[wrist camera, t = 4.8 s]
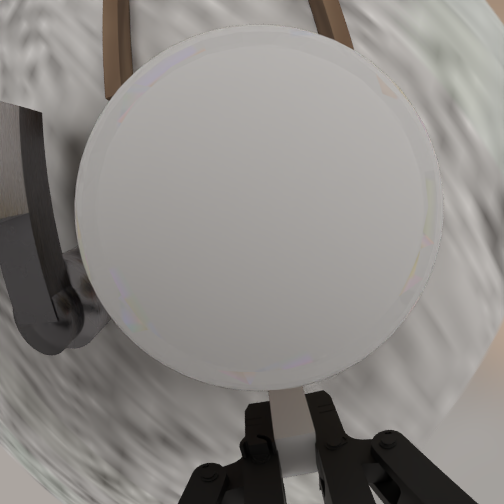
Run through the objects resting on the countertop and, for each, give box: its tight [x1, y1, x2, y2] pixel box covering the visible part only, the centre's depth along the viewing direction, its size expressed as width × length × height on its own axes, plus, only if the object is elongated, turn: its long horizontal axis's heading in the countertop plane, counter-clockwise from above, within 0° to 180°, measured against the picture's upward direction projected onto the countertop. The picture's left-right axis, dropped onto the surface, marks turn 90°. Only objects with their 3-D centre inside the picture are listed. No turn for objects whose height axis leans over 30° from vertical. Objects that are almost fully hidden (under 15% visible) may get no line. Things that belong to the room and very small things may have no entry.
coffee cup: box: [75, 24, 444, 391], centre depth 12 cm, size 9×9×12 cm
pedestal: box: [62, 247, 111, 348], centre depth 16 cm, size 5×5×5 cm
